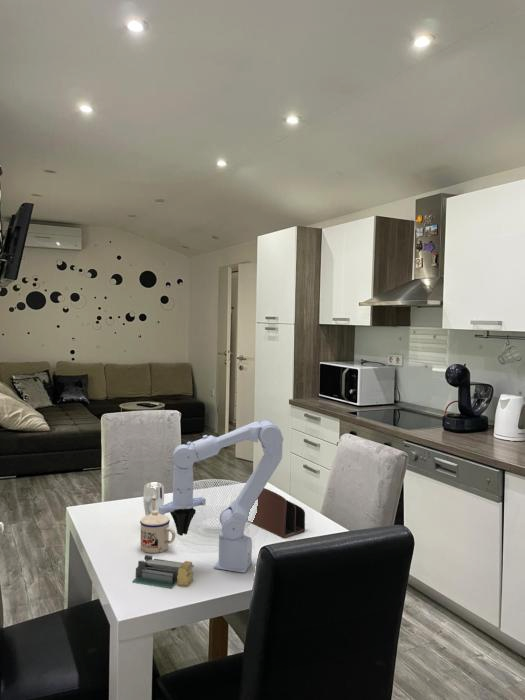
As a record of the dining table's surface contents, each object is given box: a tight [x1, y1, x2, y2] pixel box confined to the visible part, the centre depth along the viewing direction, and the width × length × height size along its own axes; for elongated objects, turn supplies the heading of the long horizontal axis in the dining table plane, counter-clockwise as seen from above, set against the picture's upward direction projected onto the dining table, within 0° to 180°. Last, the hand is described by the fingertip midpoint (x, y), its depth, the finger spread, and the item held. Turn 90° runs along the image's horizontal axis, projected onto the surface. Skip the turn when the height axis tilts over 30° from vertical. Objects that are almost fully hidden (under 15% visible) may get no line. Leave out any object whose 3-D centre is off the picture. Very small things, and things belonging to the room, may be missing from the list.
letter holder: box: [251, 487, 306, 539], centre depth 194 cm, size 10×20×14 cm, turn 40°
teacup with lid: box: [139, 510, 176, 554], centre depth 173 cm, size 12×9×12 cm
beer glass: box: [142, 481, 165, 516], centre depth 190 cm, size 7×7×15 cm
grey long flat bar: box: [143, 558, 195, 571], centre depth 154 cm, size 15×2×1 cm, turn 75°
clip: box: [176, 560, 194, 587], centre depth 152 cm, size 3×5×5 cm, turn 165°
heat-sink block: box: [132, 558, 182, 589], centre depth 155 cm, size 12×11×3 cm
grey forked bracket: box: [135, 554, 153, 578], centre depth 156 cm, size 3×5×4 cm, turn 165°
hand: (182, 533), depth 160 cm, fingers closed
